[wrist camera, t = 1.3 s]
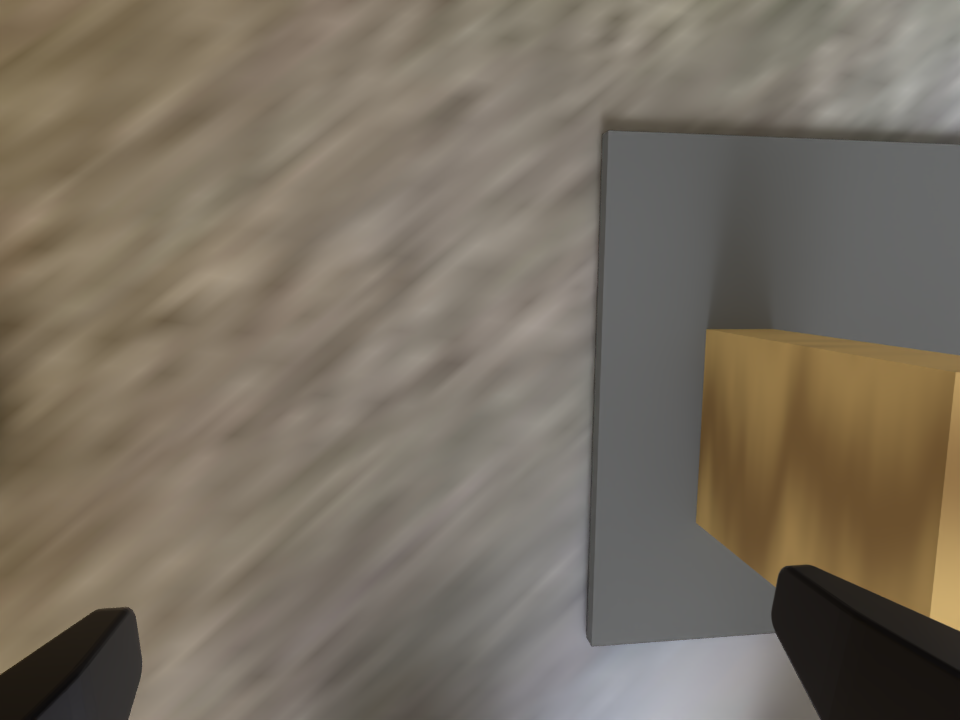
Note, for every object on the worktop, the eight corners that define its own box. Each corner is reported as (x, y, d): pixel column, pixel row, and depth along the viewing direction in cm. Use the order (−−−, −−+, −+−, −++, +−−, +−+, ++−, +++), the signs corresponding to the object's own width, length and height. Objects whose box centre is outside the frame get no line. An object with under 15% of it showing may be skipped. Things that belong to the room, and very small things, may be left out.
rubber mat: (1012, 606, 26) (1026, 614, 26) (586, 637, 24) (591, 646, 23) (1067, 152, 24) (1084, 149, 23) (602, 134, 22) (608, 130, 21)
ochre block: (760, 519, 24) (1025, 694, 14) (696, 522, 23) (920, 704, 13) (773, 329, 23) (1066, 370, 13) (706, 329, 22) (955, 372, 12)
